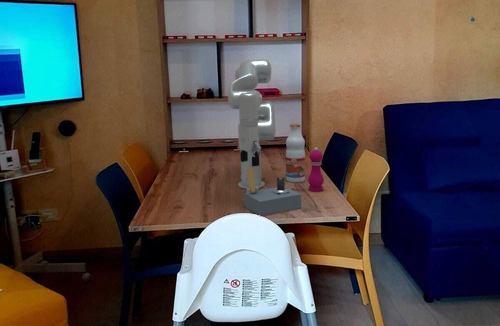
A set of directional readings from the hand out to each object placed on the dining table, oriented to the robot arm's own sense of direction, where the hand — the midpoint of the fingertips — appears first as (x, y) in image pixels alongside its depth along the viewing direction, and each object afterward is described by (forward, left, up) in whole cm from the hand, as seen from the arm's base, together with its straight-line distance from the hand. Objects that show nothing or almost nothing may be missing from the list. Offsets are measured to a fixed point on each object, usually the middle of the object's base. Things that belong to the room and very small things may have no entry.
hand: (249, 163), depth 202 cm
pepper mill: (-1, +34, -17) cm, 39 cm away
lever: (+6, -2, -5) cm, 8 cm away
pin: (+10, +9, -17) cm, 22 cm away
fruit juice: (-20, +35, -17) cm, 45 cm away
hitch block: (+10, +5, -17) cm, 20 cm away
